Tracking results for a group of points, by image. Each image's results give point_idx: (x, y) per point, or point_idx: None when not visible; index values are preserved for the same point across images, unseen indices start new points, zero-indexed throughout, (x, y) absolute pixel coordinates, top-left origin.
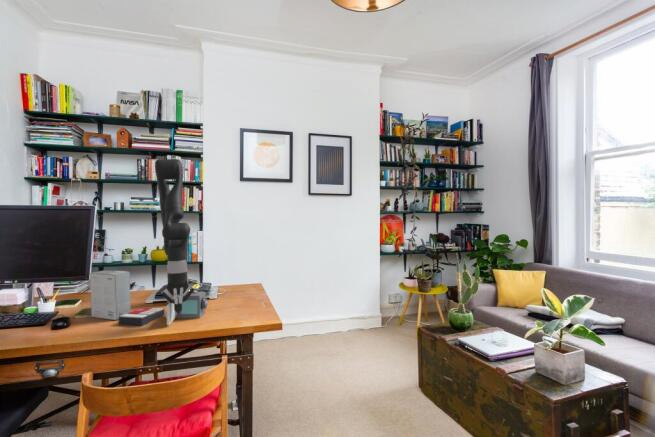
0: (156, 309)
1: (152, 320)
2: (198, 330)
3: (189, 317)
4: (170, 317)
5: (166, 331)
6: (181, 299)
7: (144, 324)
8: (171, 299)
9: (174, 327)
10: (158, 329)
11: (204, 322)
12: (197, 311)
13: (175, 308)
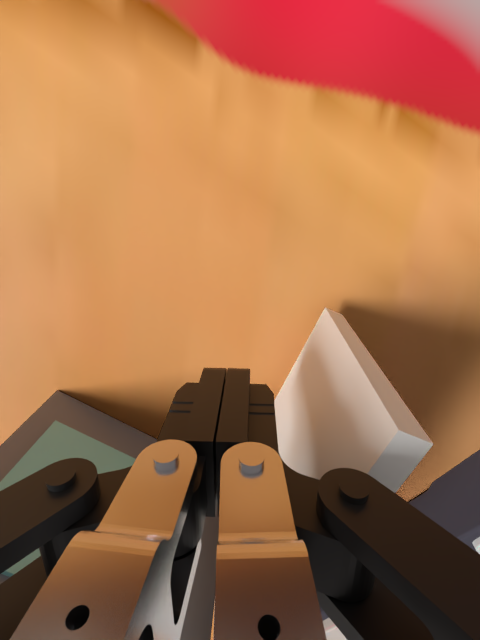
0: None
1: None
2: (75, 24)
3: (135, 433)
4: (310, 374)
5: (366, 191)
6: (130, 503)
7: (476, 458)
8: (359, 559)
9: (280, 268)
10: (412, 291)
11: (18, 257)
12: (41, 436)
13: (262, 411)
